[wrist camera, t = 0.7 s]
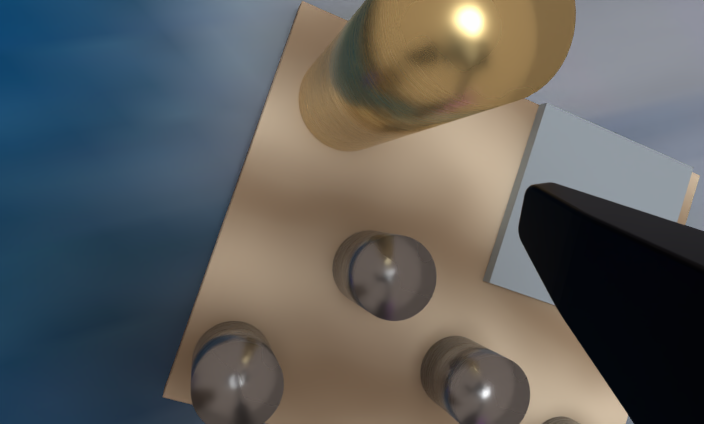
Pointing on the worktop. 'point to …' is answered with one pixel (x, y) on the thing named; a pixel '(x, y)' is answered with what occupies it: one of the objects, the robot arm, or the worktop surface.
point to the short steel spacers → (385, 303)
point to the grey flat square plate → (581, 185)
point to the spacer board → (390, 217)
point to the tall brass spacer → (430, 65)
